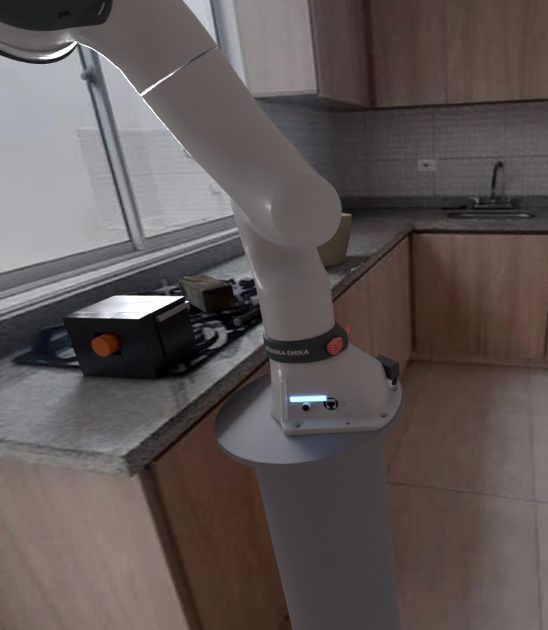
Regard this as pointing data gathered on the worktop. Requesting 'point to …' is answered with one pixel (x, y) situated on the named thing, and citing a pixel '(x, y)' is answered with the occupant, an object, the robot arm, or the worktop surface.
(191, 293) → the beverage carton
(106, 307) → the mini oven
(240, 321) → the knife
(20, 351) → the worktop surface
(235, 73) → the robot arm
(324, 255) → the flower pot
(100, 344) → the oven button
